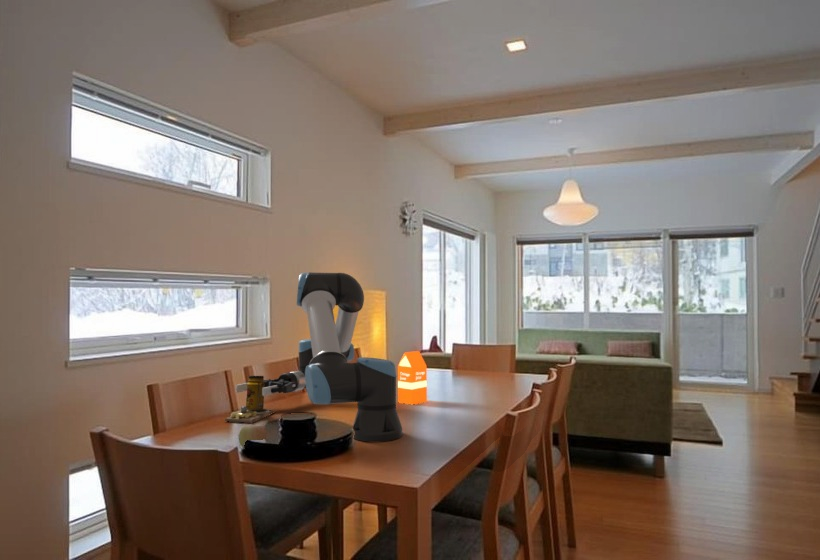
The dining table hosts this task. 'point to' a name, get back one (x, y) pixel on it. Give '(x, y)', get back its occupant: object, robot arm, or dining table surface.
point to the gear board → (259, 416)
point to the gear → (244, 413)
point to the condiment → (255, 393)
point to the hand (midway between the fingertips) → (249, 390)
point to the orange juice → (412, 379)
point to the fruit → (252, 433)
